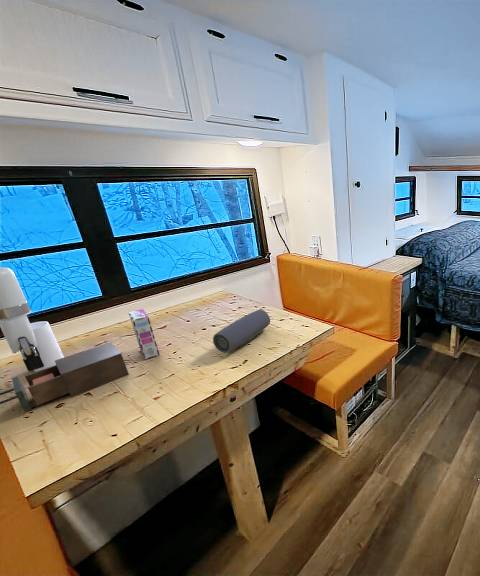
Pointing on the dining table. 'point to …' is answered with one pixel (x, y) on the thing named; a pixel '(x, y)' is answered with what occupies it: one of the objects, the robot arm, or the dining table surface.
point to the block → (43, 378)
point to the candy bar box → (144, 333)
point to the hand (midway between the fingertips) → (34, 363)
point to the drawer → (38, 388)
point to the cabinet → (91, 368)
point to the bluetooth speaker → (241, 331)
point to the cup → (46, 344)
